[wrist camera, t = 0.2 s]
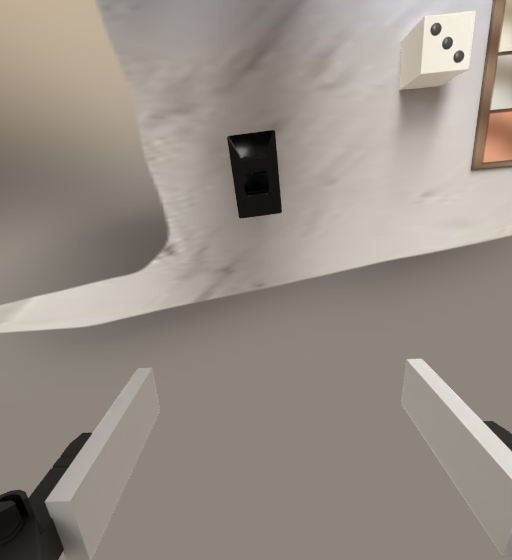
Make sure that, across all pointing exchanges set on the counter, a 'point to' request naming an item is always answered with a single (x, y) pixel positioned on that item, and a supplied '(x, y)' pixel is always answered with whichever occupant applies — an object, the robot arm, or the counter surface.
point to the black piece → (255, 173)
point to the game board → (496, 94)
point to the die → (436, 50)
